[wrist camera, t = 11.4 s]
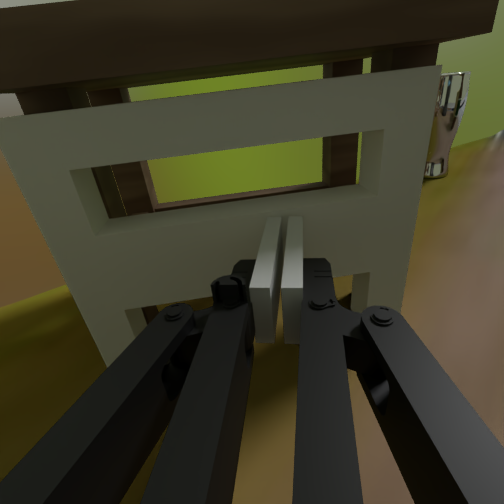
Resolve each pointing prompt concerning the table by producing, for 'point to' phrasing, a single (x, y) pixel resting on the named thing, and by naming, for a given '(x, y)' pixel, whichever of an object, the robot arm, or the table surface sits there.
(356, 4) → the stool
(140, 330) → the gate leg
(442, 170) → the beer glass
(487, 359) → the table surface
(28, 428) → the table surface
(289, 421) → the table surface
